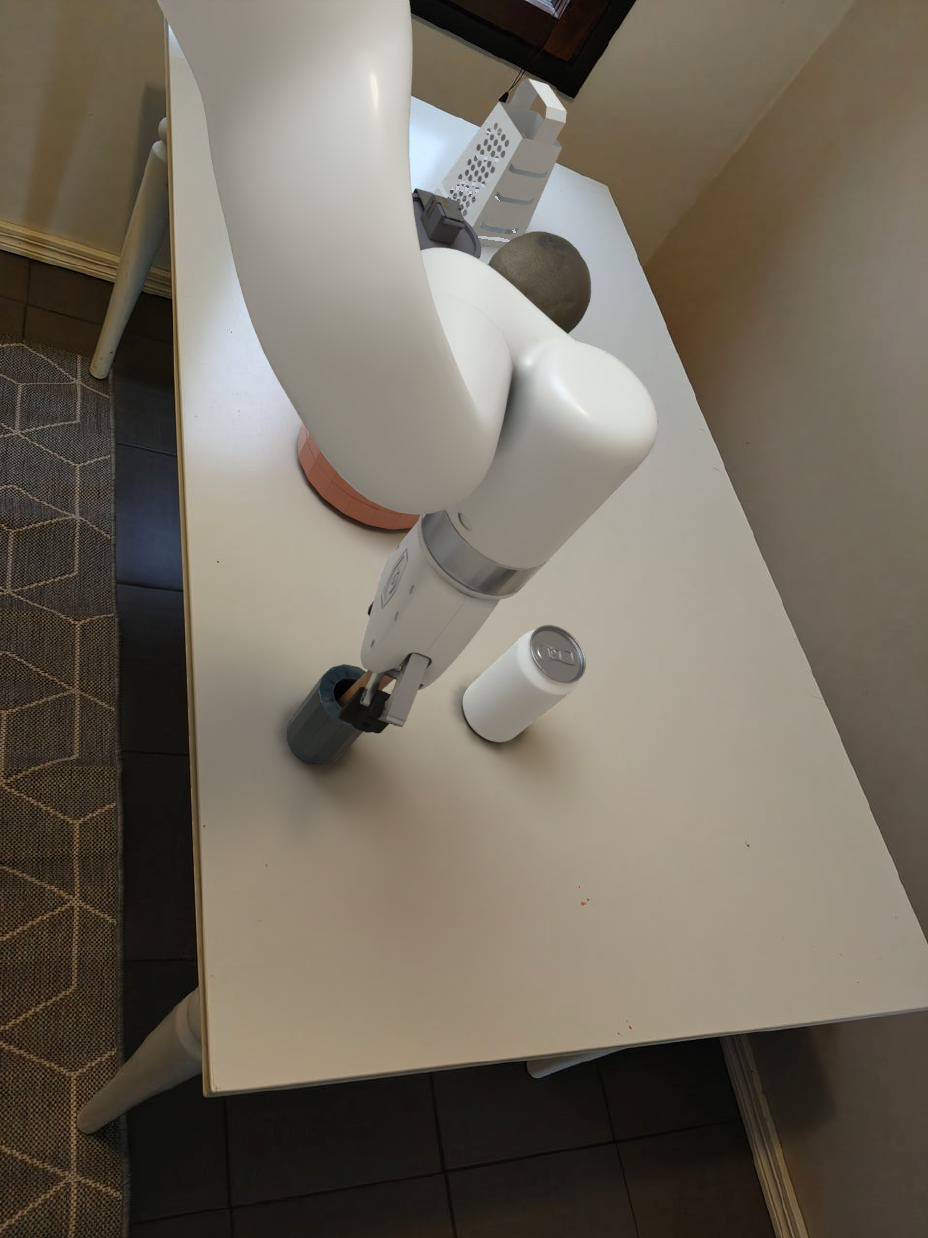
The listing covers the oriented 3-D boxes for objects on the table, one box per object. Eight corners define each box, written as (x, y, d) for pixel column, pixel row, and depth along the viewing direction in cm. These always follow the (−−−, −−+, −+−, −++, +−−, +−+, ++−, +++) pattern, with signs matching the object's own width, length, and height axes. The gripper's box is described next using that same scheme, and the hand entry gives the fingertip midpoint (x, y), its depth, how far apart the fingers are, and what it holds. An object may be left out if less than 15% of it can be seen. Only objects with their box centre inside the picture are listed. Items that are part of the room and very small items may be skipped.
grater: (463, 242, 123) (535, 112, 109) (434, 192, 127) (500, 60, 112) (517, 249, 130) (593, 128, 115) (488, 202, 133) (557, 78, 119)
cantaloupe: (459, 284, 117) (514, 189, 106) (547, 326, 122) (608, 240, 111) (456, 349, 109) (515, 254, 98) (550, 392, 114) (616, 305, 103)
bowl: (275, 488, 83) (295, 448, 79) (317, 387, 93) (337, 346, 89) (425, 557, 88) (451, 523, 83) (449, 454, 98) (474, 418, 94)
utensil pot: (278, 753, 69) (311, 711, 63) (295, 699, 72) (328, 654, 66) (337, 775, 71) (374, 736, 65) (351, 720, 74) (388, 679, 68)
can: (457, 677, 82) (521, 614, 73) (515, 687, 85) (584, 627, 76) (463, 739, 78) (531, 681, 70) (523, 748, 81) (596, 692, 72)
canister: (423, 388, 102) (507, 251, 87) (343, 377, 96) (419, 228, 82) (399, 322, 106) (475, 182, 92) (321, 308, 101) (389, 155, 86)
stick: (307, 737, 70) (396, 651, 59) (312, 719, 71) (401, 631, 60) (326, 746, 71) (419, 662, 59) (331, 727, 72) (423, 641, 60)
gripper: (451, 411, 54) (352, 562, 67) (400, 623, 43) (293, 755, 56) (551, 463, 56) (437, 600, 69) (526, 677, 46) (396, 792, 58)
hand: (373, 669), depth 62 cm, fingers open, 8 cm apart
